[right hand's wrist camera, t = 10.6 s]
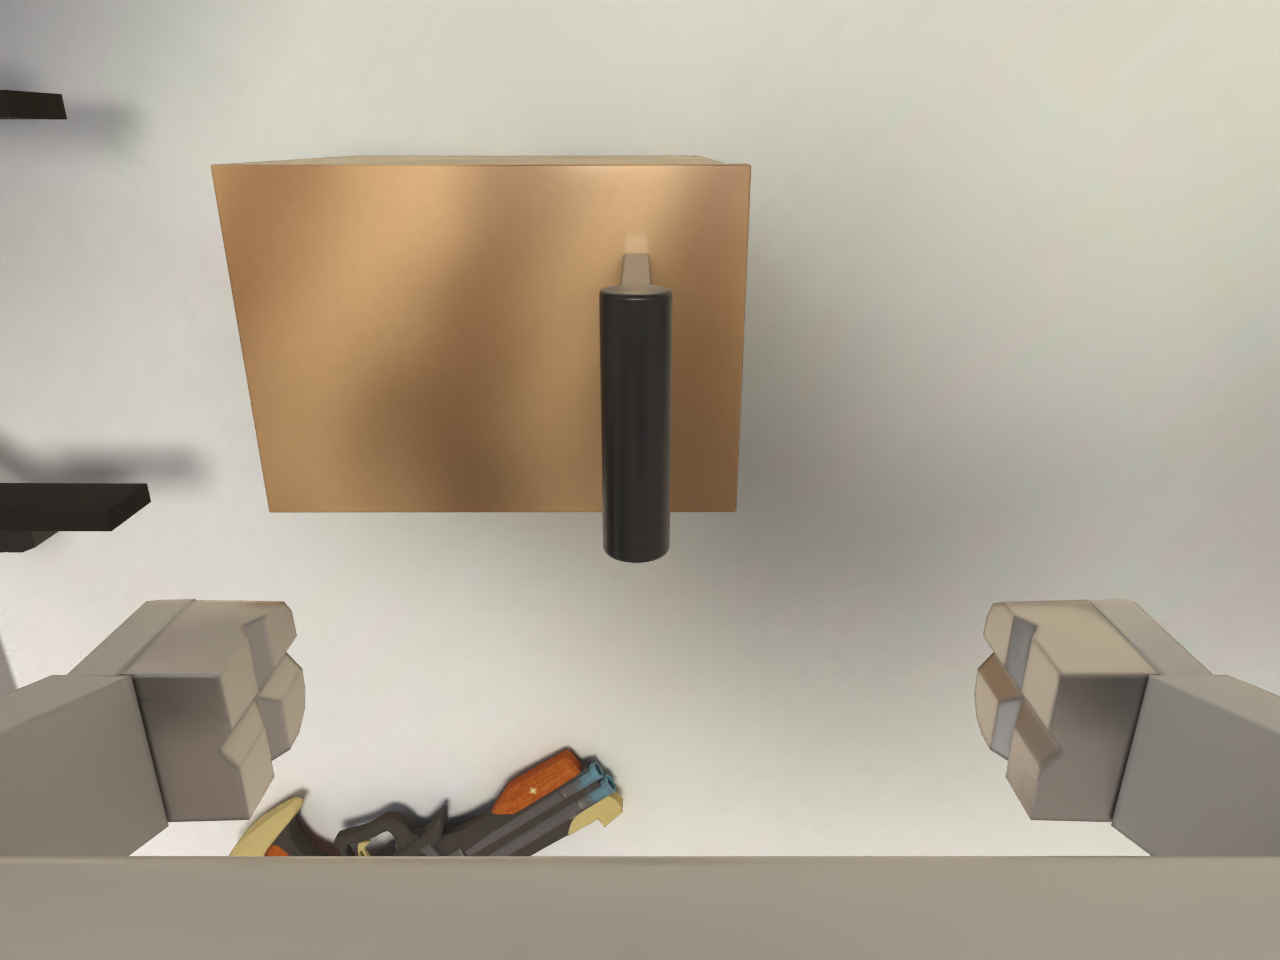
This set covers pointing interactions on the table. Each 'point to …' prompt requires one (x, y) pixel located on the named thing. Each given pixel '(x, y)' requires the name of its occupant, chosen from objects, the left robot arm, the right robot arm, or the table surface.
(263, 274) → the lid
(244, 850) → the toy gun
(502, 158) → the chest
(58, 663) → the table surface
